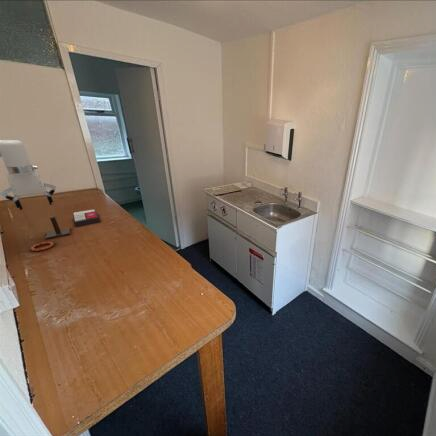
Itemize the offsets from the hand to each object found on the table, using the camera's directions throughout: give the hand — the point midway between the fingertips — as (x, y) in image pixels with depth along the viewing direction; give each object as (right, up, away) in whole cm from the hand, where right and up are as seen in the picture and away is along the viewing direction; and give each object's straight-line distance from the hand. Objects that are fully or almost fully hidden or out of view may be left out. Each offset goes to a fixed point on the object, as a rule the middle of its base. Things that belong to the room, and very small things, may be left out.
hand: (36, 206), depth 108 cm
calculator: (-6, -7, +34) cm, 35 cm away
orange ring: (-1, -19, +4) cm, 20 cm away
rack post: (-7, -14, +17) cm, 23 cm away
